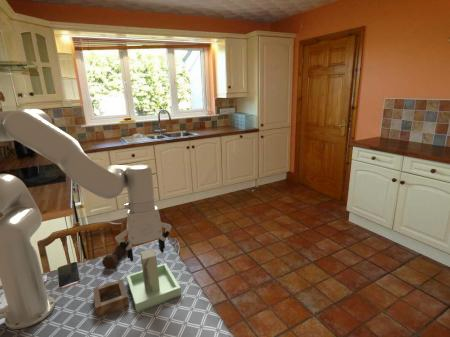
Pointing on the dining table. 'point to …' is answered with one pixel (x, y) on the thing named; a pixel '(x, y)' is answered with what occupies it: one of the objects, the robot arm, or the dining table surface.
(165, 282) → the tray
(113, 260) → the bolt
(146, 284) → the box
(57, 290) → the dining table surface
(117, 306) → the frame
